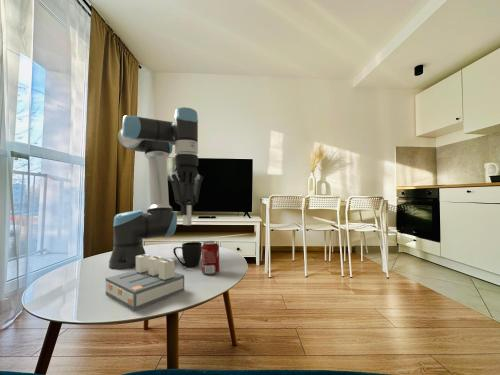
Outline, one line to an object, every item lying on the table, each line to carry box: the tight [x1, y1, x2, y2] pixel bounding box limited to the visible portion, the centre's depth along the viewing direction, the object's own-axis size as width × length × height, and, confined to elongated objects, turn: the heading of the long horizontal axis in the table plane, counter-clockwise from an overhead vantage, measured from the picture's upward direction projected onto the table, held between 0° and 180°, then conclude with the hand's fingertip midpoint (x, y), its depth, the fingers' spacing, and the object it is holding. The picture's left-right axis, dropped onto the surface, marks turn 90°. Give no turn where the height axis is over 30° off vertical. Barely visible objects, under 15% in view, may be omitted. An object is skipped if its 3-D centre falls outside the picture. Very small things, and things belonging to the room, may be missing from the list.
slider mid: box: [148, 255, 164, 276], centre depth 77 cm, size 3×4×5 cm
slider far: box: [135, 253, 151, 273], centre depth 80 cm, size 3×4×5 cm
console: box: [105, 269, 185, 311], centre depth 75 cm, size 18×16×5 cm
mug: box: [172, 241, 203, 269], centre depth 102 cm, size 8×12×10 cm
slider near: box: [159, 258, 175, 280], centre depth 74 cm, size 3×4×5 cm
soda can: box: [201, 240, 220, 276], centre depth 94 cm, size 7×7×12 cm
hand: (187, 224), depth 80 cm, fingers closed
